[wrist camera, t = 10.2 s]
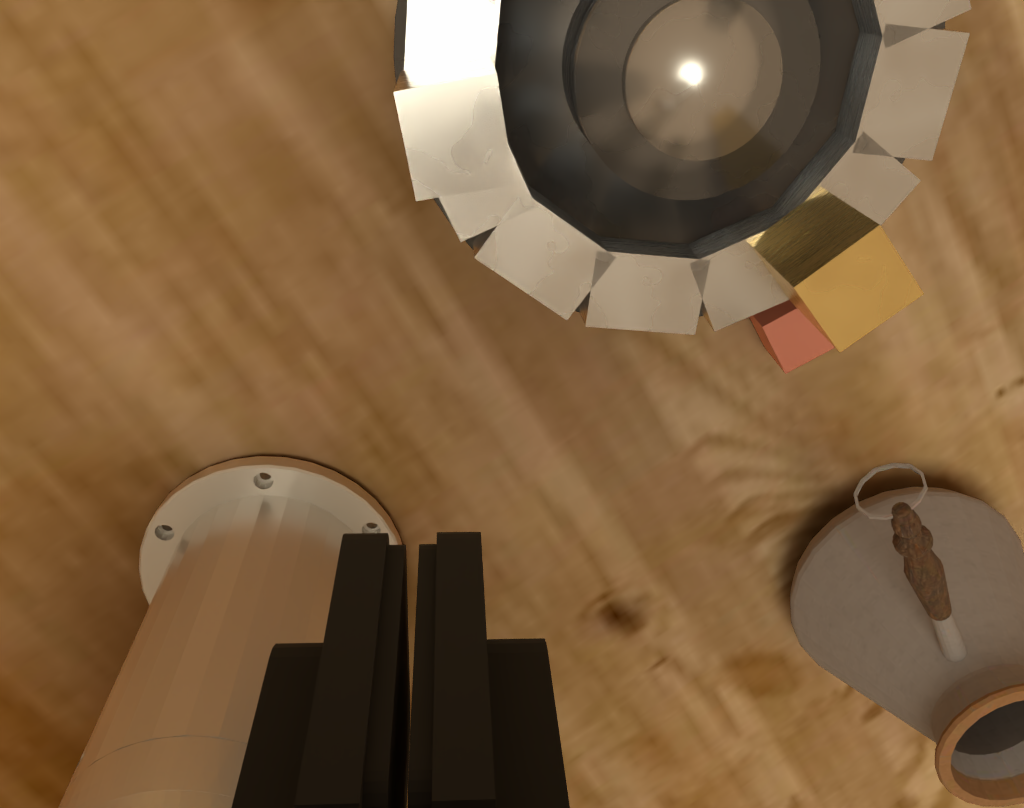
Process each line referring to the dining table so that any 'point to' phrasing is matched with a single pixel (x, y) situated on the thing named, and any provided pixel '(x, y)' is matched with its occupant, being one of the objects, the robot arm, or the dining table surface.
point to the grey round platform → (666, 105)
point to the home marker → (789, 336)
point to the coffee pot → (926, 625)
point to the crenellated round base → (724, 253)
